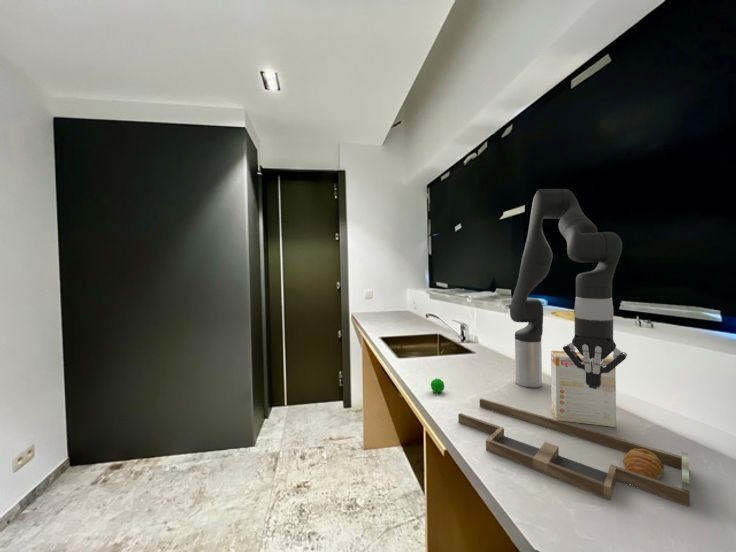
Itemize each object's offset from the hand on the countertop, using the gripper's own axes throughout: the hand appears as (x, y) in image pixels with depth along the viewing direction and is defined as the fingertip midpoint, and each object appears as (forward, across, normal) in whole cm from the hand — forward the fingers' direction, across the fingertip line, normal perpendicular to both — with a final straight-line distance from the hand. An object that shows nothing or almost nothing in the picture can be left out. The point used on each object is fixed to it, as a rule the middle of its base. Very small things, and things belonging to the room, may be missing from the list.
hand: (593, 387), depth 75 cm
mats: (+17, +7, +11) cm, 21 cm away
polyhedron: (+17, +49, -8) cm, 52 cm away
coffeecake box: (+17, +6, -19) cm, 26 cm away
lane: (+17, +8, +4) cm, 19 cm away
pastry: (+17, -9, 0) cm, 19 cm away
